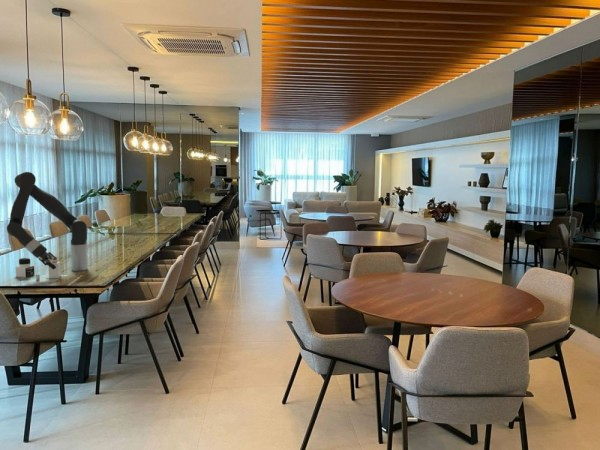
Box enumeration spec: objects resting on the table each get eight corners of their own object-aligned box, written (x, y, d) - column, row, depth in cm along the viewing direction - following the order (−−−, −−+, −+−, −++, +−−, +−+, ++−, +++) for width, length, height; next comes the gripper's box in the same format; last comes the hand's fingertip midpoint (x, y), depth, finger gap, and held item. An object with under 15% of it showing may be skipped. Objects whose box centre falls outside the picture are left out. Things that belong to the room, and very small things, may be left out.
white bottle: (49, 278, 277) (48, 261, 276) (52, 276, 282) (51, 260, 281) (58, 278, 278) (57, 261, 277) (61, 276, 283) (60, 260, 282)
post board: (44, 276, 287) (44, 268, 287) (68, 276, 287) (68, 269, 287) (26, 283, 269) (26, 275, 268) (52, 284, 268) (51, 276, 268)
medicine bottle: (25, 279, 279) (25, 259, 278) (15, 278, 281) (14, 259, 279) (34, 276, 286) (34, 257, 285) (25, 275, 288) (24, 256, 286)
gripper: (35, 245, 270) (57, 265, 273) (45, 242, 284) (65, 260, 287) (26, 255, 269) (48, 273, 273) (36, 250, 283) (57, 268, 287)
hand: (57, 266), depth 280 cm, fingers open, 8 cm apart
